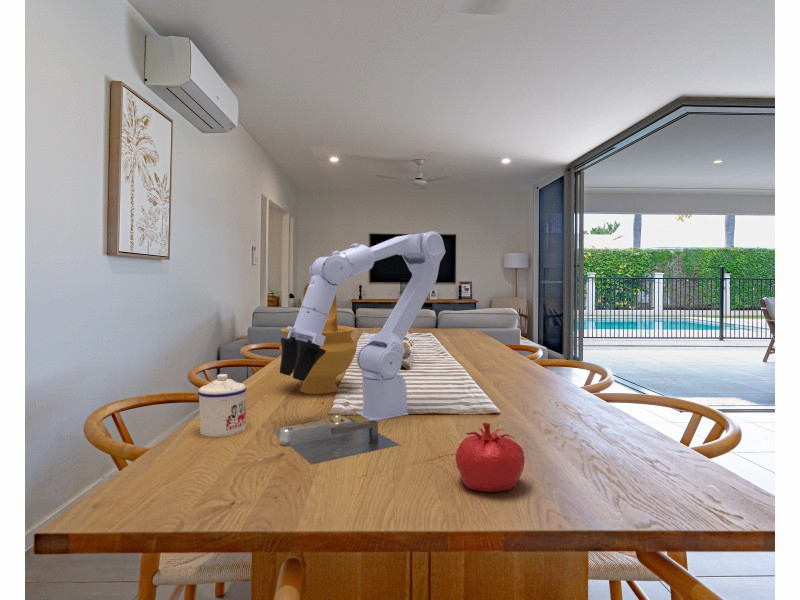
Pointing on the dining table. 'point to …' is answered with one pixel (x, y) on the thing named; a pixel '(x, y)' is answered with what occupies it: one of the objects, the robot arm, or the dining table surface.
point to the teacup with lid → (222, 407)
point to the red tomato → (489, 461)
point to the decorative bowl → (329, 355)
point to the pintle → (336, 418)
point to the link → (312, 431)
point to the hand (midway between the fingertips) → (291, 377)
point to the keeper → (358, 426)
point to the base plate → (340, 446)
